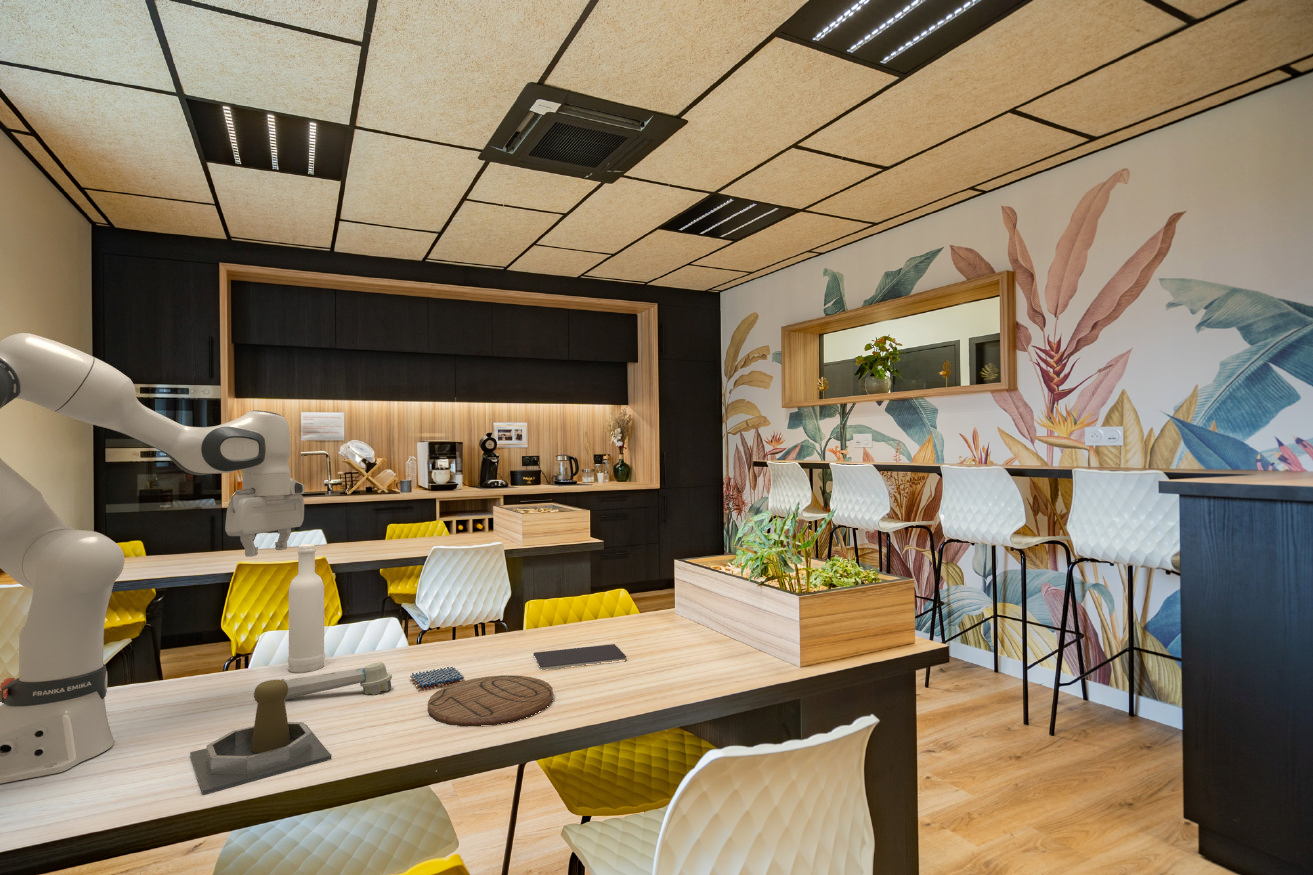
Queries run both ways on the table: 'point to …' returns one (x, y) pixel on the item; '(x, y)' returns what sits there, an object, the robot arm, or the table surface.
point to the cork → (270, 717)
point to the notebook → (578, 656)
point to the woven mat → (436, 678)
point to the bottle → (306, 615)
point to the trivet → (490, 700)
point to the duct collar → (253, 758)
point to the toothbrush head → (342, 681)
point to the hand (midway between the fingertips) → (266, 552)
